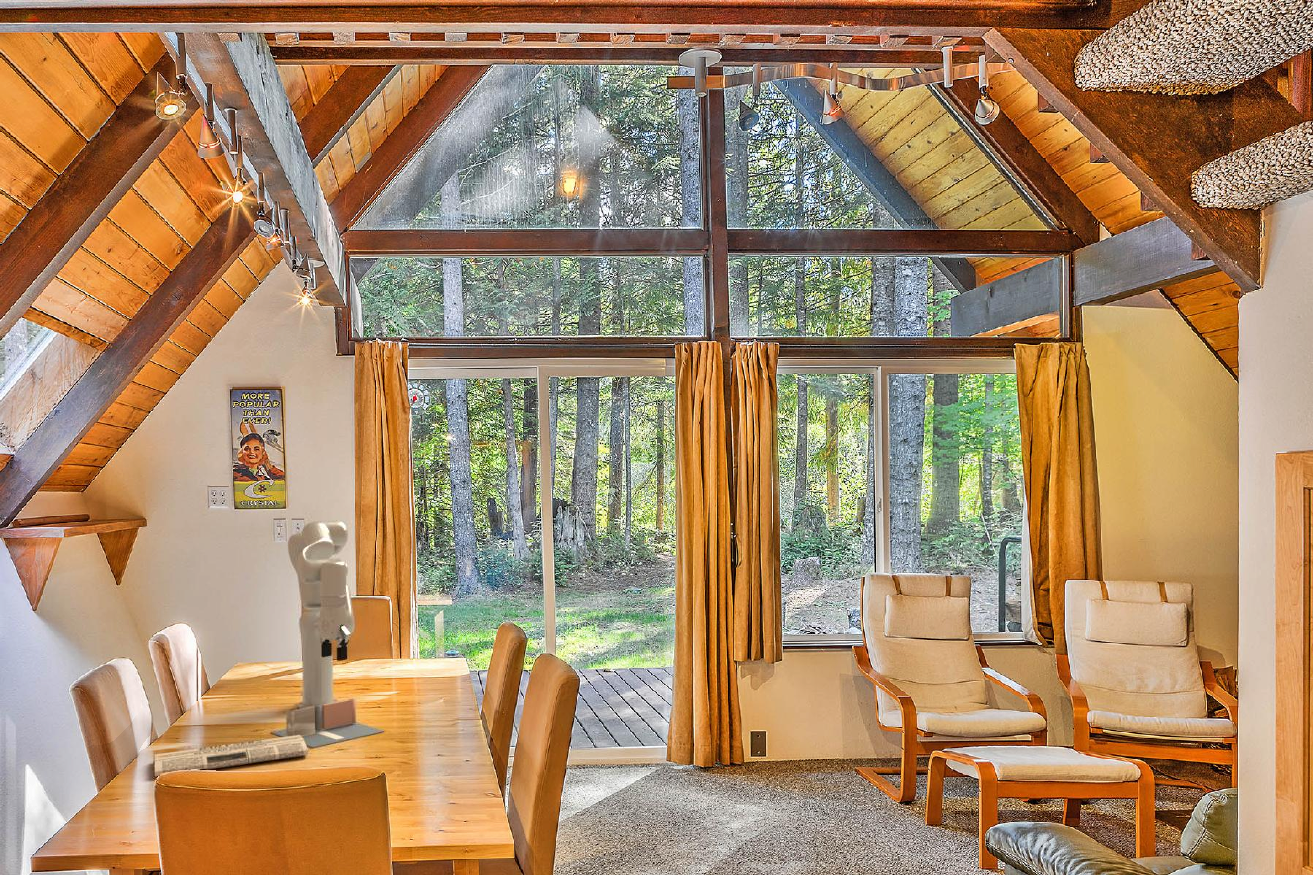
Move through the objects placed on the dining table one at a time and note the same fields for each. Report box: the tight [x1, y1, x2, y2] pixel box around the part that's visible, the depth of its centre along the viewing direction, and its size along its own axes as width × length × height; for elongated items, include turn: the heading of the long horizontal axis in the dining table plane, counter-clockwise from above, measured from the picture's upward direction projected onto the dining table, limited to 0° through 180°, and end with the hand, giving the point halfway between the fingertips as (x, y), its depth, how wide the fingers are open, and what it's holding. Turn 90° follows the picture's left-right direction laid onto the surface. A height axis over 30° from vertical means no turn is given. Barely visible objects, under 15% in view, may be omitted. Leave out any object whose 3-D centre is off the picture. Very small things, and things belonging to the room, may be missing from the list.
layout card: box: [270, 721, 385, 749], centre depth 296 cm, size 26×24×1 cm
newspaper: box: [154, 735, 309, 778], centre depth 270 cm, size 37×19×3 cm, turn 117°
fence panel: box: [315, 698, 357, 731], centre depth 300 cm, size 13×2×7 cm, turn 136°
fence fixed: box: [285, 707, 315, 737], centre depth 292 cm, size 2×8×8 cm, turn 136°
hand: (334, 658), depth 307 cm, fingers open, 8 cm apart
